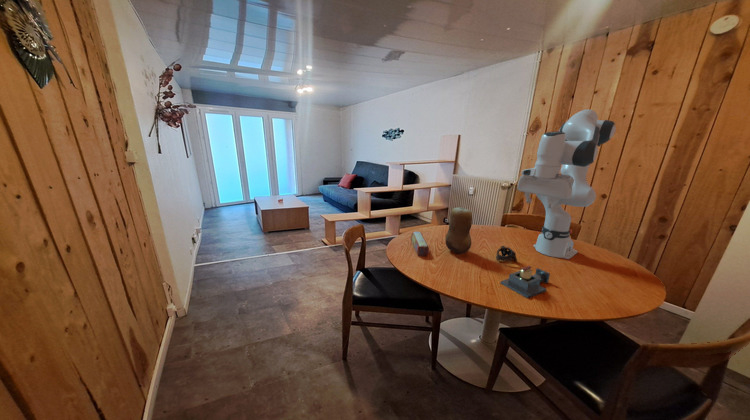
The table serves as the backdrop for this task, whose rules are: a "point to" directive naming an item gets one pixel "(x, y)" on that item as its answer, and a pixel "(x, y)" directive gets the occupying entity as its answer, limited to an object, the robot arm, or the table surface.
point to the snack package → (419, 244)
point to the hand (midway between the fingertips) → (539, 205)
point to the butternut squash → (459, 231)
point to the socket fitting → (527, 283)
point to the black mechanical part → (504, 252)
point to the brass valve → (526, 273)
